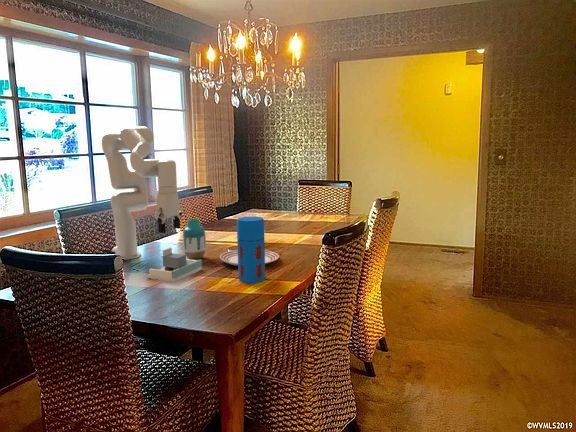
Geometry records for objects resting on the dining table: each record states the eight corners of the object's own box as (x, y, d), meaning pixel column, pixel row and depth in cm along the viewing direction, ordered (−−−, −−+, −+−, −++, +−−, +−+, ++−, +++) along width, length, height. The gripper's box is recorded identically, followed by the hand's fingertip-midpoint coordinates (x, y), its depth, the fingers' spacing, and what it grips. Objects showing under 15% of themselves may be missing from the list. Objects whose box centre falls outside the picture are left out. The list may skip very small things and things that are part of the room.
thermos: (265, 274, 192) (264, 216, 188) (265, 282, 182) (263, 220, 178) (239, 275, 192) (237, 216, 188) (237, 283, 182) (235, 221, 177)
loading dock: (147, 278, 190) (146, 267, 189) (176, 266, 207) (175, 256, 206) (174, 282, 184) (173, 271, 183) (201, 269, 201) (201, 259, 200)
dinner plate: (268, 252, 231) (268, 246, 230) (287, 266, 206) (287, 259, 205) (214, 258, 221) (213, 251, 221) (227, 273, 196) (227, 266, 195)
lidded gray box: (163, 271, 195) (162, 250, 193) (171, 267, 200) (170, 247, 198) (178, 273, 191) (177, 252, 190) (186, 269, 196) (185, 249, 195)
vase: (184, 262, 214) (182, 221, 210) (183, 256, 224) (181, 218, 220) (207, 260, 216) (205, 220, 213) (205, 254, 226) (203, 216, 223)
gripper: (173, 187, 199) (175, 225, 203) (146, 192, 184) (148, 233, 187) (187, 188, 196) (189, 227, 200) (161, 193, 181) (163, 235, 184)
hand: (169, 230), depth 193 cm, fingers open, 9 cm apart
